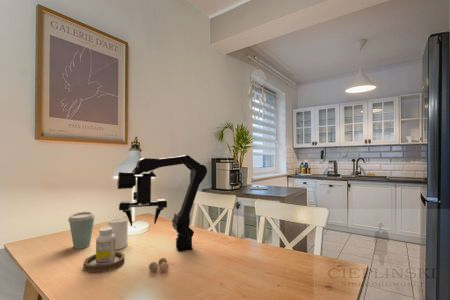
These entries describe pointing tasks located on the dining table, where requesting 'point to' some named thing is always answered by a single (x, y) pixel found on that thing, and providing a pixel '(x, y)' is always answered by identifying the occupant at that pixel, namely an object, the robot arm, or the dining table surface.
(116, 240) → the mug
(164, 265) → the pinkish tan ball
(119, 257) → the faceted wooden bowl
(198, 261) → the dining table surface
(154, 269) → the bead maple
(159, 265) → the bead honey
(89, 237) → the disposable coffee cup
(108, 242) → the supplement bottle
